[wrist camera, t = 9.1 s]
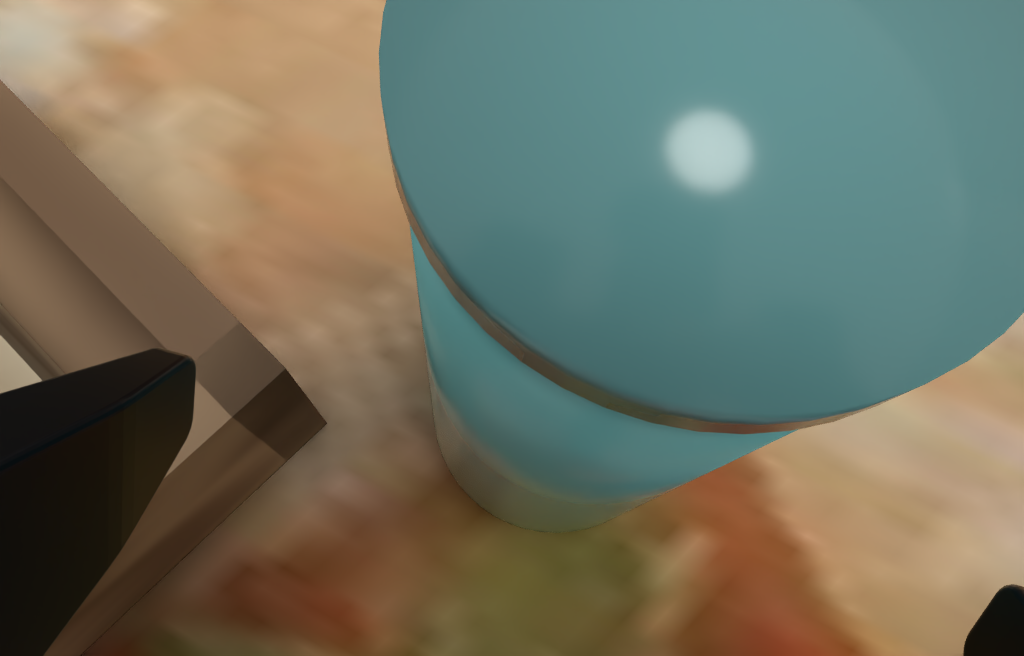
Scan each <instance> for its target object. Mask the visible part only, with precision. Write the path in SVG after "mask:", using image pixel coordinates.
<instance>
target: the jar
mask: <svg viewBox="0 0 1024 656" xmlns="http://www.w3.org/2000/svg"><path fill="white" fill-rule="evenodd" d="M379 66H380V88H381V100H382V107H383V113H384V120H385V127H386V133H387V140H388V147H389V152H390V157H391V162H392V167H393V172H394V177H395V182H396V187H397V190H398V192H399V195H400V198H401V201H402V204H403V207H404V209H405V212H406V215H407V218H408V221H409V224H410V230H411V238H412V246H413V254H414V262H415V270H416V278H417V287H418V295H419V303H420V311H421V319H422V327H423V335H424V343H425V352H426V360H427V368H428V376H429V384H430V392H431V400H432V408H433V416H434V425H435V430H436V435H437V441H438V444H439V447H440V450H441V453H442V456H443V458H444V460H445V462H446V464H447V466H448V468H449V470H450V472H451V474H452V475H453V477H454V478H455V480H456V481H457V483H458V484H459V485H460V486H461V488H462V489H463V490H464V491H465V492H466V493H467V494H468V496H469V497H470V498H472V499H473V500H474V501H475V502H476V503H477V504H478V505H480V506H481V507H482V508H483V509H485V510H486V511H488V512H489V513H491V514H492V515H494V516H495V517H497V518H500V519H502V520H504V521H506V522H508V523H510V524H513V525H516V526H519V527H522V528H525V529H529V530H534V531H540V532H553V533H561V532H573V531H578V530H583V529H587V528H591V527H594V526H597V525H599V524H602V523H605V522H607V521H609V520H611V519H613V518H615V517H617V516H619V515H621V514H623V513H625V512H628V511H630V510H632V509H634V508H636V507H638V506H640V505H642V504H644V503H646V502H648V501H650V500H653V499H655V498H657V497H659V496H661V495H663V494H665V493H667V492H669V491H671V490H673V489H675V488H677V487H680V486H682V485H684V484H686V483H688V482H690V481H692V480H694V479H696V478H698V477H700V476H702V475H704V474H707V473H709V472H711V471H713V470H715V469H717V468H719V467H721V466H723V465H725V464H727V463H729V462H731V461H734V460H736V459H738V458H740V457H742V456H744V455H746V454H748V453H750V452H752V451H754V450H756V449H759V448H761V447H763V446H765V445H767V444H769V443H771V442H773V441H775V440H777V439H779V438H781V437H783V436H786V435H788V434H790V433H792V432H794V431H796V430H798V429H802V428H806V427H811V426H816V425H820V424H825V423H830V422H834V421H837V420H840V419H842V418H845V417H848V416H851V415H853V414H856V413H859V412H861V411H864V410H867V409H870V408H872V407H875V406H877V405H880V404H882V403H884V402H886V401H888V400H891V399H893V398H895V397H897V396H900V395H902V394H904V393H906V392H909V391H911V390H913V389H915V388H917V387H920V386H922V385H924V384H926V383H928V382H930V381H932V380H934V379H936V378H937V377H939V376H941V375H943V374H945V373H947V372H948V371H950V370H952V369H954V368H956V367H958V366H959V365H961V364H963V363H965V362H967V361H968V360H970V359H971V358H972V357H974V356H975V355H976V354H977V353H979V352H980V351H981V350H983V349H984V348H985V347H987V346H988V345H989V344H991V343H992V342H993V341H994V340H996V339H997V338H998V337H1000V336H1001V335H1002V334H1004V333H1005V332H1006V330H1007V329H1008V328H1009V327H1010V326H1011V325H1012V324H1013V323H1014V322H1015V321H1016V320H1017V319H1018V318H1019V317H1020V316H1021V315H1022V314H1023V313H1024V0H387V1H386V4H385V8H384V12H383V20H382V29H381V39H380V48H379Z"/></svg>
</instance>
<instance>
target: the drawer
mask: <svg viewBox="0 0 1024 656" xmlns="http://www.w3.org/2000/svg"><path fill="white" fill-rule="evenodd" d="M64 374H65V373H64V372H63V371H62V370H61V369H60V368H59V367H58V366H57V364H56V363H55V362H54V361H53V360H52V359H51V358H50V357H49V356H48V355H47V354H46V353H45V351H44V350H43V349H42V348H41V347H40V346H39V345H38V344H37V343H36V342H35V341H34V340H33V339H32V337H31V336H30V335H29V334H28V333H27V332H26V331H25V330H24V329H23V328H22V327H21V326H20V325H19V323H18V322H17V321H16V320H15V319H14V318H13V317H12V316H11V315H10V314H9V313H8V312H7V310H6V309H5V308H4V307H3V306H2V305H1V304H0V393H3V392H7V391H10V390H13V389H17V388H20V387H24V386H27V385H30V384H34V383H37V382H40V381H44V380H47V379H51V378H54V377H57V376H61V375H64Z"/></svg>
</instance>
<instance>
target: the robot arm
mask: <svg viewBox="0 0 1024 656" xmlns="http://www.w3.org/2000/svg"><path fill="white" fill-rule="evenodd" d="M195 382H196V365H195V361H194V360H193V358H192V357H191V356H189V355H186V354H182V353H178V352H175V351H171V350H168V349H164V348H157V347H156V348H152V349H148V350H145V351H142V352H138V353H135V354H131V355H128V356H125V357H121V358H118V359H115V360H111V361H108V362H104V363H101V364H98V365H94V366H91V367H88V368H84V369H81V370H77V371H74V372H71V373H67V374H64V375H61V376H57V377H54V378H51V379H47V380H44V381H40V382H37V383H34V384H30V385H27V386H24V387H20V388H17V389H13V390H10V391H7V392H3V393H0V656H44V655H45V653H46V652H47V651H48V649H49V648H50V647H51V645H52V644H53V643H54V641H55V640H56V639H57V637H58V636H59V635H60V633H61V632H62V631H63V629H64V628H65V627H66V625H67V624H68V623H69V621H70V620H71V619H72V617H73V616H74V615H75V613H76V612H77V611H78V609H79V608H80V607H81V605H82V604H83V603H84V601H85V600H86V599H87V597H88V596H89V594H90V593H91V592H92V590H93V589H94V588H95V586H96V585H97V584H98V582H99V581H100V580H101V578H102V577H103V576H104V574H105V573H106V572H107V570H108V569H109V568H110V566H111V565H112V563H113V562H114V561H115V559H116V558H117V556H118V555H119V553H120V552H121V551H122V549H123V547H124V546H125V544H126V542H127V541H128V539H129V538H130V536H131V534H132V533H133V531H134V529H135V528H136V526H137V524H138V522H139V521H140V519H141V517H142V515H143V514H144V512H145V510H146V509H147V507H148V505H149V503H150V502H151V500H152V498H153V497H154V495H155V493H156V491H157V490H158V488H159V486H160V484H161V483H162V481H163V479H164V478H165V476H166V474H167V472H168V471H169V469H170V467H171V465H172V464H173V462H174V460H175V459H176V457H177V455H178V453H179V452H180V450H181V448H182V446H183V445H184V443H185V441H186V439H187V437H188V435H189V433H190V430H191V426H192V422H193V413H194V398H195ZM964 656H1024V587H1022V586H1018V585H1014V584H1012V585H1006V586H1004V587H1002V588H1001V589H1000V590H999V591H998V592H997V593H996V595H995V596H994V597H993V599H992V600H991V602H990V603H989V605H988V606H987V608H986V609H985V610H984V612H983V613H982V615H981V616H980V618H979V619H978V621H977V622H976V623H975V625H974V626H973V628H972V629H971V631H970V632H969V634H968V636H967V638H966V641H965V645H964Z"/></svg>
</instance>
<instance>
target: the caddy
mask: <svg viewBox="0 0 1024 656" xmlns="http://www.w3.org/2000/svg"><path fill="white" fill-rule="evenodd" d="M0 304H1V305H2V306H3V307H4V308H5V309H6V310H7V312H8V313H9V314H10V315H11V316H12V317H13V318H14V319H15V320H16V321H17V322H18V323H19V325H20V326H21V327H22V328H23V329H24V330H25V331H26V332H27V333H28V334H29V335H30V336H31V337H32V339H33V340H34V341H35V342H36V343H37V344H38V345H39V346H40V347H41V348H42V349H43V350H44V351H45V353H46V354H47V355H48V356H49V357H50V358H51V359H52V360H53V361H54V362H55V363H56V364H57V366H58V367H59V368H60V369H61V370H62V371H63V372H64V373H65V374H67V373H71V372H74V371H77V370H81V369H84V368H88V367H91V366H94V365H98V364H101V363H104V362H108V361H111V360H115V359H118V358H121V357H125V356H128V355H131V354H135V353H138V352H142V351H145V350H148V349H152V348H156V347H157V348H164V349H168V350H171V351H175V352H178V353H182V354H186V355H189V356H191V357H192V358H193V360H194V361H195V365H196V382H195V398H194V413H193V422H192V426H191V430H190V433H189V435H188V437H187V439H186V441H185V443H184V445H183V446H182V448H181V450H180V452H179V453H178V455H177V457H176V459H175V460H174V462H173V464H172V465H171V467H170V469H169V471H168V472H167V474H166V476H165V478H164V479H163V481H162V483H161V484H160V486H159V488H158V490H157V491H156V493H155V495H154V497H153V498H152V500H151V502H150V503H149V505H148V507H147V509H146V510H145V512H144V514H143V515H142V517H141V519H140V521H139V522H138V524H137V526H136V528H135V529H134V531H133V533H132V534H131V536H130V538H129V539H128V541H127V542H126V544H125V546H124V547H123V549H122V551H121V552H120V553H119V555H118V556H117V558H116V559H115V561H114V562H113V563H112V565H111V566H110V568H109V569H108V570H107V572H106V573H105V574H104V576H103V577H102V578H101V580H100V581H99V582H98V584H97V585H96V586H95V588H94V589H93V590H92V592H91V593H90V594H89V596H88V597H87V599H86V600H85V601H84V603H83V604H82V605H81V607H80V608H79V609H78V611H77V612H76V613H75V615H74V616H73V617H72V619H71V620H70V621H69V623H68V624H67V625H66V627H65V628H64V629H63V631H62V632H61V633H60V635H59V636H58V637H57V639H56V640H55V641H54V643H53V644H52V645H51V647H50V648H49V649H48V651H47V652H46V653H45V655H44V656H80V655H81V654H82V653H83V652H84V651H85V650H86V649H88V648H89V647H90V646H91V645H92V644H93V643H94V642H95V641H96V640H97V639H98V638H99V637H100V636H101V635H102V634H103V633H105V632H106V631H107V630H108V629H109V628H110V627H111V626H112V625H113V624H114V623H115V622H116V621H117V620H118V619H119V618H120V617H122V616H123V615H124V614H125V613H126V612H127V611H128V610H129V609H130V608H131V607H132V606H133V605H134V604H135V603H136V602H137V601H139V600H140V599H141V598H142V597H143V596H144V595H145V594H146V593H147V592H148V591H149V590H150V589H151V588H152V587H153V586H154V585H156V584H157V583H158V582H159V581H160V580H161V579H162V578H163V577H164V576H165V575H166V574H167V573H168V572H169V571H170V570H171V569H173V568H174V567H175V566H176V565H177V564H178V563H179V562H180V561H181V560H182V559H183V558H184V557H185V556H186V555H187V554H188V553H190V552H191V551H192V550H193V549H194V548H195V547H196V546H197V545H198V544H199V543H200V542H201V541H202V540H203V539H204V538H205V537H207V536H208V535H209V534H210V533H211V532H212V531H213V530H214V529H215V528H216V527H217V526H218V525H219V524H220V523H221V522H222V521H224V520H225V519H226V518H227V517H228V516H229V515H230V514H231V513H232V512H233V511H234V510H235V509H236V508H237V507H238V506H239V505H241V504H242V503H243V502H244V501H245V500H246V499H247V498H248V497H249V496H250V495H251V494H252V493H253V492H254V491H255V490H256V489H258V488H259V487H260V486H261V485H262V484H263V483H264V482H265V481H266V480H267V479H268V478H269V477H270V476H271V475H272V474H273V473H275V472H276V471H277V470H278V469H279V468H280V467H281V466H282V465H283V464H284V463H285V462H286V461H287V460H288V459H289V458H290V457H292V456H293V455H294V454H295V453H296V452H297V451H298V450H299V449H300V448H301V447H302V446H303V445H304V444H305V443H306V442H307V441H309V440H310V439H311V438H312V437H313V436H314V435H315V434H316V433H317V432H318V431H319V430H320V429H321V428H322V427H323V426H324V425H326V424H327V423H326V421H325V420H324V419H323V417H322V416H321V415H320V413H319V412H318V411H317V409H316V408H315V407H314V405H313V404H312V403H311V401H310V400H309V399H308V397H307V396H306V395H305V394H304V392H303V391H302V390H301V388H300V387H299V386H298V384H297V383H296V382H295V380H294V379H293V378H292V376H291V375H290V374H289V372H288V371H287V370H286V368H285V367H284V366H283V365H282V364H281V363H280V362H279V361H278V360H277V359H276V358H275V357H274V356H273V355H272V354H271V353H270V352H269V351H268V350H267V349H266V348H265V347H264V346H263V345H262V344H261V343H260V342H259V341H258V340H257V339H256V338H255V337H254V336H253V335H252V334H251V333H250V332H249V331H248V330H247V329H246V328H245V327H244V326H243V325H242V324H241V323H240V322H239V321H238V320H237V319H236V318H235V317H234V316H233V315H232V314H231V313H230V312H229V311H228V310H227V309H226V308H225V307H224V306H223V305H222V304H221V303H220V302H219V301H218V300H217V299H216V298H215V297H214V296H213V295H212V294H211V293H210V292H209V290H208V289H207V288H206V287H205V286H204V285H203V284H202V283H201V282H200V281H199V280H198V279H197V278H196V277H195V276H194V275H193V274H192V273H191V272H190V271H189V270H188V269H187V268H186V267H185V266H184V265H183V264H182V263H181V262H180V261H179V260H178V259H177V258H176V257H175V256H174V255H173V254H172V253H171V252H170V251H169V250H168V249H167V248H166V247H165V246H164V245H163V244H162V243H161V242H160V241H159V240H158V239H157V238H156V237H155V236H154V235H153V234H152V233H151V232H150V231H149V230H148V229H147V228H146V227H145V226H144V225H143V224H142V223H141V222H140V221H139V220H138V219H137V218H136V217H135V216H134V215H133V214H132V213H131V212H130V211H129V210H128V209H127V208H126V207H125V206H124V205H123V204H122V203H121V202H120V200H119V199H118V198H117V197H116V196H115V195H114V194H113V193H112V192H111V191H110V190H109V189H108V188H107V187H106V186H105V185H104V184H103V183H102V182H101V181H100V180H99V179H98V178H97V177H96V176H95V175H94V174H93V173H92V172H91V171H90V170H89V169H88V168H87V167H86V166H85V165H84V164H83V163H82V162H81V161H80V160H79V159H78V158H77V157H76V156H75V155H74V154H73V153H72V152H71V151H70V150H69V149H68V148H67V147H66V146H65V145H64V144H63V143H62V142H61V141H60V140H59V139H58V138H57V137H56V136H55V135H54V134H53V133H52V132H51V131H50V130H49V129H48V128H47V127H46V126H45V125H44V124H43V123H42V122H41V121H40V120H39V119H38V118H37V117H36V116H35V115H34V114H33V113H32V111H31V110H30V109H29V108H28V107H27V106H26V105H25V104H24V103H23V102H22V101H21V100H20V99H19V98H18V97H17V96H16V95H15V94H14V93H13V92H12V91H11V90H10V89H9V88H8V87H7V86H6V85H5V84H4V83H3V82H2V81H1V80H0Z"/></svg>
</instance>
